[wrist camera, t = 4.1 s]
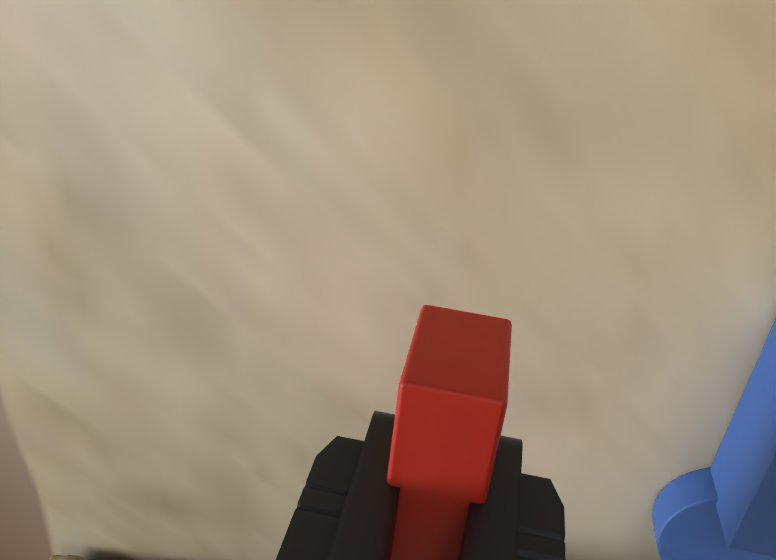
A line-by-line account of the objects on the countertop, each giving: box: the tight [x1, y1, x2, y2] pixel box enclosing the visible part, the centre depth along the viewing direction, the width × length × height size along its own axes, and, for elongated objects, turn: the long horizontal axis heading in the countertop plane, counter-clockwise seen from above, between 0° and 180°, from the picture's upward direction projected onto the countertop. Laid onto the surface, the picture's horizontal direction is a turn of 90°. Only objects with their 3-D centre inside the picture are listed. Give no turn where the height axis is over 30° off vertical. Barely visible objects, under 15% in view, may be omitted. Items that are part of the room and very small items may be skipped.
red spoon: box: [387, 305, 512, 560], centre depth 12 cm, size 8×3×2 cm, turn 175°
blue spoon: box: [652, 320, 776, 560], centre depth 15 cm, size 8×3×2 cm, turn 175°
